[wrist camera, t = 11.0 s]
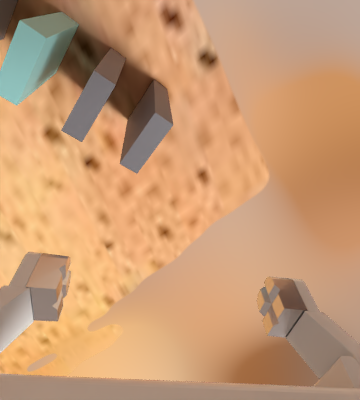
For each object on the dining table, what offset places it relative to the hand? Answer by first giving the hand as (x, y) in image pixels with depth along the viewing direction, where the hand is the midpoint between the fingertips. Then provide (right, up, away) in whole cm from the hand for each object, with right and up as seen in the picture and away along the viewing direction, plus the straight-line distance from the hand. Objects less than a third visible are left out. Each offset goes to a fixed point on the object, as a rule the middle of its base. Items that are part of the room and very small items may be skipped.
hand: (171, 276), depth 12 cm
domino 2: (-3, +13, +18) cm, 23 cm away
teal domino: (-11, +17, +15) cm, 25 cm away
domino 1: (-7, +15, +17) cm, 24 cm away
